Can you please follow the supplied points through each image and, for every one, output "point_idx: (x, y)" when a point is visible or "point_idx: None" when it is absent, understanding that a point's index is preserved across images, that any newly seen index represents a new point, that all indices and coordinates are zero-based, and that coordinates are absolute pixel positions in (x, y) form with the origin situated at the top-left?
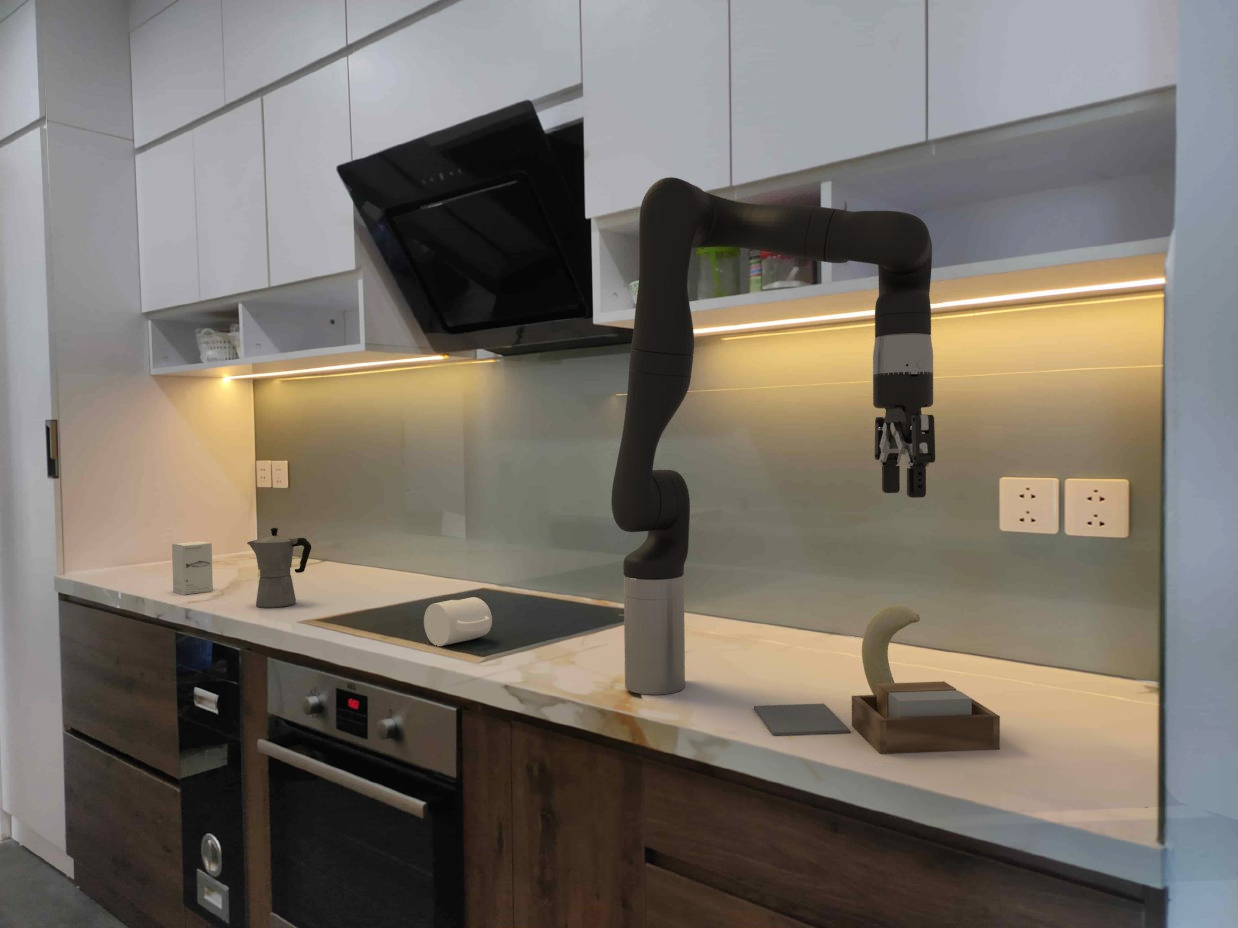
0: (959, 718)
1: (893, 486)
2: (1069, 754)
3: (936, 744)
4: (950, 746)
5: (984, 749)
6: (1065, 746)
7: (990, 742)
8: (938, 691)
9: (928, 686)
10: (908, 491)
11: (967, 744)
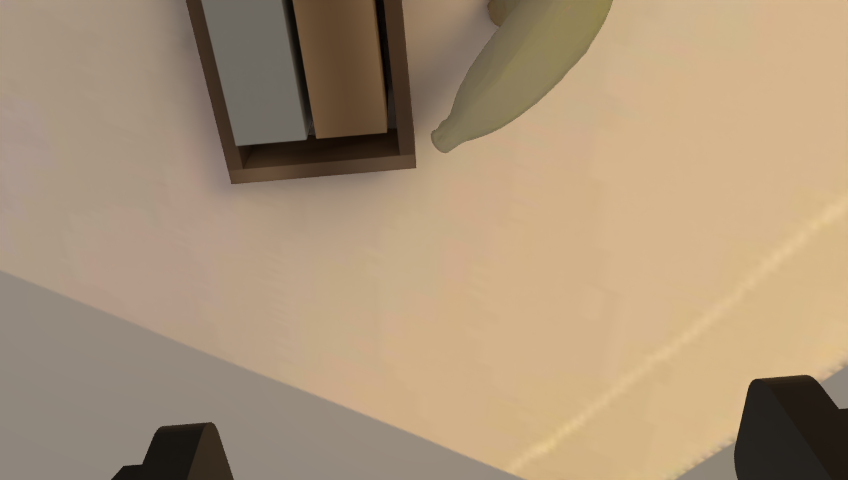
0: (210, 93)
1: (762, 476)
2: (231, 260)
3: None
4: None
5: None
6: (273, 270)
7: None
8: (292, 87)
9: (338, 76)
10: (157, 451)
11: None
